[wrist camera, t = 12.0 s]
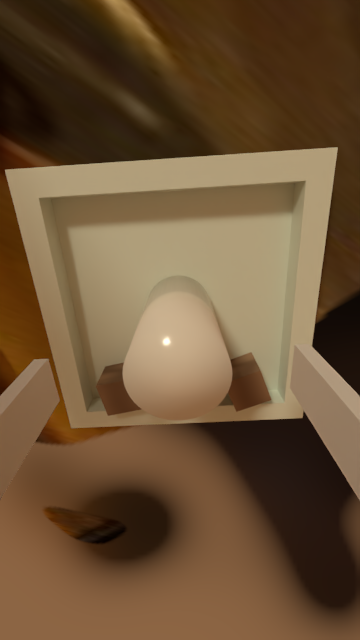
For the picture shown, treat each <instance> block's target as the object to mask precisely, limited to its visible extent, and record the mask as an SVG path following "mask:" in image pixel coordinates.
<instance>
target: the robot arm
mask: <svg viewBox="0 0 360 640" xmlns="http://www.w3.org/2000/svg"><path fill="white" fill-rule="evenodd" d="M290 389H291V391H292V392H293V394H294V395H295V397H296V399H297V400H298V402H299V403H300V405H301V407H302V408H303V410H304V412H305V413H306V415H307V416H308V418H309V420H310V421H311V423H312V424H313V426H314V428H315V429H316V431H317V432H318V434H319V436H320V437H321V439H322V440H323V442H324V444H325V445H326V447H327V449H328V450H329V452H330V453H331V455H332V457H333V458H334V460H335V461H336V463H337V465H338V466H339V468H340V469H341V471H342V473H343V474H344V476H345V477H346V479H347V481H348V482H349V484H350V486H351V487H352V488H353V490H354V492H355V494H356V495H357V497H358V498H359V500H360V394H357V393H356V392H355V391H354V390H353V389H352V388H351V387H350V386H349V385H348V384H347V383H346V382H345V381H344V380H343V378H341V376H340V375H339V374H338V373H337V372H336V371H335V370H334V369H333V368H332V367H331V366H330V365H329V364H328V363H327V362H326V361H325V360H324V359H323V358H322V357H321V356H320V355H319V354H318V353H317V352H316V351H315V349H314V348H313V347H312V346H311V345H310V344H298V345H295V346H294V355H293V364H292V373H291V382H290ZM59 401H60V399H59V396H58V392H57V388H56V385H55V381H54V377H53V374H52V370H51V367H50V363H49V359H34V360H33V361H32V362H31V363H30V364H29V365H28V367H27V368H26V369H25V370H24V371H23V372H22V373H21V374H20V375H19V376H18V377H17V378H16V379H15V380H14V382H13V383H12V384H11V385H10V386H9V387H8V388H7V389H6V390H5V391H4V392H3V393H2V394H1V396H0V499H1V498H2V496H3V494H4V493H5V491H6V489H7V488H8V486H9V484H10V483H11V481H12V479H13V478H14V476H15V474H16V473H17V471H18V469H19V468H20V466H21V464H22V462H23V461H24V459H25V458H26V456H27V454H28V453H29V451H30V449H31V448H32V446H33V444H34V443H35V441H36V439H37V438H38V436H39V434H40V433H41V431H42V429H43V428H44V426H45V424H46V423H47V421H48V419H49V418H50V416H51V414H52V413H53V411H54V409H55V408H56V406H57V404H58V403H59Z"/></svg>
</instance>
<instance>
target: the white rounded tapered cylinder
mask: <svg viewBox="0 0 360 640" xmlns="http://www.w3.org/2000/svg"><path fill="white" fill-rule="evenodd" d="M123 382H124V386H125V388H126V391H127V393H128V394H129V396H130V398H131V399H132V400H133V402H134V403H135V404H136V405H137V406H138V407H140V408H141V409H142V410H144V411H145V412H147V413H149V414H151V415H153V416H155V417H158V418H162V419H166V420H174V421H181V420H189V419H194V418H197V417H200V416H202V415H205V414H207V413H208V412H210V411H212V410H213V409H214V408H216V407H217V406H218V405H219V404H220V403H221V402H222V400H223V399H224V398H225V396H226V395H227V393H228V391H229V389H230V386H231V382H232V365H231V361H230V358H229V355H228V352H227V349H226V346H225V343H224V340H223V337H222V334H221V331H220V328H219V326H218V323H217V320H216V317H215V314H214V311H213V308H212V305H211V302H210V299H209V296H208V293H207V292H206V290H205V288H204V287H203V286H202V285H201V284H200V283H199V282H197V281H196V280H194V279H192V278H190V277H186V276H171V277H167V278H165V279H163V280H161V281H160V282H158V283H157V284H156V285H155V286H154V287H153V289H152V290H151V292H150V294H149V297H148V299H147V302H146V305H145V307H144V310H143V313H142V315H141V318H140V321H139V323H138V326H137V329H136V331H135V334H134V337H133V339H132V342H131V345H130V347H129V350H128V353H127V355H126V358H125V361H124V365H123Z"/></svg>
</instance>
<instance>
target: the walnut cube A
mask: <svg viewBox="0 0 360 640" xmlns="http://www.w3.org/2000/svg"><path fill="white" fill-rule="evenodd" d="M123 365H124V363H119V364H114V365H110V366H105V368H104V370H103V372H102V374H101V376H100V378H99V380H98V383H97V385H96V388H97V391H98V393H99V395H100V398H101V400H102V403H103V405H104V408H105V410H106V412H107V415H108V416H110V415H115V414H121V413H126V412H131V411H136V410H141V408H140V407H138V406H137V405H136V404H135V403H134V402H133V400H132V399H131V398H130V396H129V394H128V393H127V391H126V388H125V386H124V382H123Z"/></svg>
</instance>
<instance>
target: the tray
mask: <svg viewBox="0 0 360 640" xmlns="http://www.w3.org/2000/svg"><path fill="white" fill-rule="evenodd" d="M337 149H338V147H335V148H320V149H305V150H291V151H276V152H261V153H246V154H231V155H216V156H201V157H187V158H172V159H157V160H142V161H127V162H112V163H97V164H83V165H68V166H53V167H38V168H23V169H8V170H5V173H6V177H7V181H8V184H9V188H10V192H11V196H12V200H13V204H14V208H15V212H16V216H17V219H18V223H19V227H20V231H21V235H22V239H23V243H24V247H25V251H26V254H27V258H28V262H29V266H30V270H31V274H32V278H33V282H34V286H35V289H36V293H37V297H38V301H39V305H40V309H41V313H42V317H43V320H44V324H45V328H46V332H47V336H48V340H49V344H50V348H51V352H52V355H53V359H54V363H55V367H56V371H57V375H58V379H59V383H60V387H61V390H62V394H63V398H64V402H65V406H66V410H67V414H68V418H69V422H70V425H71V428H89V427H112V426H134V425H154V424H179V423H202V422H224V421H247V420H269V419H292V418H303V411H304V410H303V408H302V407H301V405H300V403H299V402H298V400H297V399H296V397H295V395H294V394H293V392H292V391H291V389H290V382H291V373H292V364H293V355H294V346H295V345H298V344H310V345H311V346H312V341H313V334H314V326H315V318H316V311H317V303H318V295H319V288H320V280H321V272H322V264H323V257H324V249H325V241H326V234H327V226H328V218H329V211H330V203H331V195H332V187H333V180H334V172H335V164H336V157H337ZM171 276H186V277H190V278H192V279H194V280H196V281H197V282H199V283H200V284H201V285H202V286H203V287H204V288H205V290H206V292H207V293H208V296H209V299H210V302H211V305H212V308H213V311H214V314H215V317H216V320H217V323H218V326H219V328H220V331H221V334H222V337H223V340H224V343H225V346H226V349H227V352H228V355H229V358H230V360H231V359H234V358H236V357H239V356H242V355H245V354H247V353H250V352H252V354H253V356H254V358H255V360H256V362H257V364H258V366H259V368H260V370H261V373H262V376H263V378H264V381H265V384H266V386H267V389H268V392H269V394H270V397H271V399H272V400H270V401H267V402H264V403H261V404H259V405H256V406H253V407H250V408H247V409H244V410H241V411H238V412H236V410H235V408H234V405H233V403H232V401H231V399H230V396H229V394H228V393H227V395H226V396H225V398H224V399H223V400H222V402H221V403H220V404H219V405H218V406H217V407H216V408H214V409H213V410H212V411H210V412H208V413H207V414H205V415H202V416H200V417H197V418H194V419H189V420H181V421H174V420H166V419H162V418H158V417H155V416H153V415H151V414H149V413H147V412H145V411H144V410H142V409H141V410H136V411H131V412H126V413H121V414H115V415H110V416H108V415H107V412H106V410H105V408H104V405H103V403H102V400H101V398H100V395H99V393H98V391H97V388H96V385H97V383H98V380H99V378H100V376H101V374H102V372H103V370H104V368H105V366H110V365H114V364H119V363H124V361H125V358H126V355H127V353H128V350H129V347H130V345H131V342H132V339H133V337H134V334H135V331H136V329H137V326H138V323H139V321H140V318H141V315H142V313H143V310H144V307H145V305H146V302H147V299H148V297H149V294H150V292H151V290H152V289H153V287H154V286H155V285H156V284H157V283H158V282H160V281H161V280H163V279H165V278H167V277H171Z"/></svg>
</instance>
